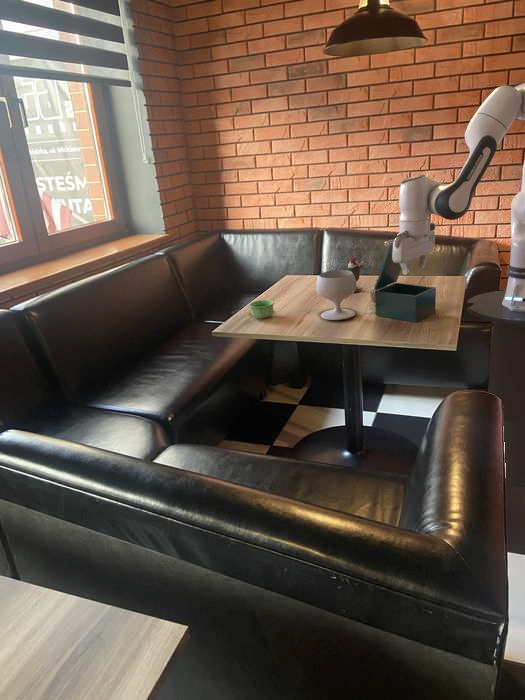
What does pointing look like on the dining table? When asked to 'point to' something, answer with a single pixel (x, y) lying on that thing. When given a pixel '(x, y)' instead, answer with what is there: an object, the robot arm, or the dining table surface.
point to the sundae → (355, 269)
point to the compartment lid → (388, 268)
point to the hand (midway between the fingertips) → (413, 270)
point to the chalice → (336, 292)
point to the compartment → (405, 301)
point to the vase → (373, 292)
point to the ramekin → (261, 308)
